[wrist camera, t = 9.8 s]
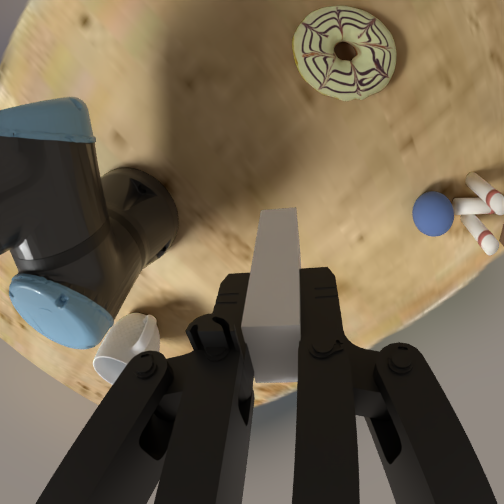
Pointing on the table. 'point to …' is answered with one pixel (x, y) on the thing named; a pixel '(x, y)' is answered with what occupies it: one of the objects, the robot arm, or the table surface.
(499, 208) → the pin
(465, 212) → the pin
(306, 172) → the table surface
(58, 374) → the table surface
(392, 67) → the decorated donut
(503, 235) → the rail
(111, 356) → the mug
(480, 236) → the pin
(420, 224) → the ball
